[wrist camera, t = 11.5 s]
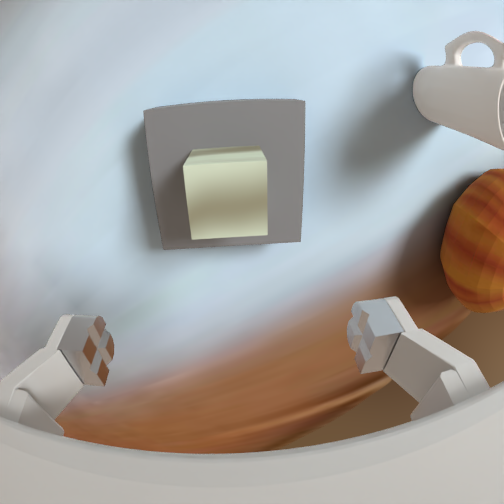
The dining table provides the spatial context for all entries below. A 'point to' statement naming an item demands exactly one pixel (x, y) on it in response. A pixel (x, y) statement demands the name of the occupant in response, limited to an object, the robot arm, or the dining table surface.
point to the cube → (226, 192)
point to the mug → (465, 91)
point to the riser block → (228, 135)
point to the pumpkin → (477, 245)
